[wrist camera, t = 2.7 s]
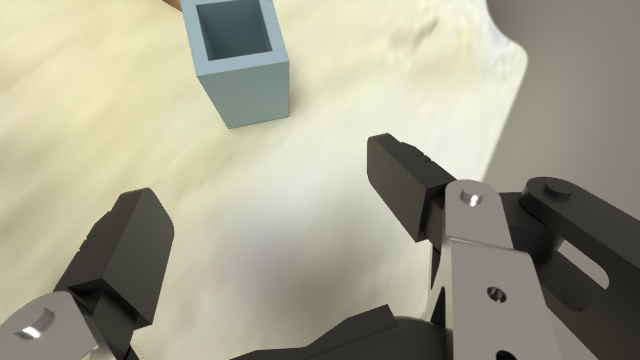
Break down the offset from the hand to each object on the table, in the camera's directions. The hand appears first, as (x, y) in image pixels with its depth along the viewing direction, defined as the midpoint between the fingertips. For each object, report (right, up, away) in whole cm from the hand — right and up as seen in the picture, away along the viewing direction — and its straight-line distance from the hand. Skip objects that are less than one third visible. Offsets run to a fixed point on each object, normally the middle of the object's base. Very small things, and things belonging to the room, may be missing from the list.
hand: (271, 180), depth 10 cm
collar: (-5, +9, +16) cm, 19 cm away
